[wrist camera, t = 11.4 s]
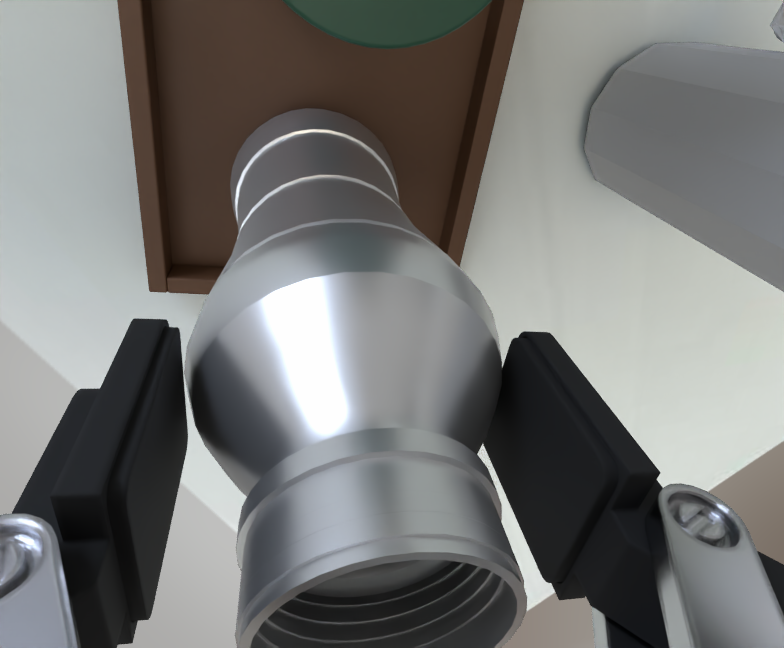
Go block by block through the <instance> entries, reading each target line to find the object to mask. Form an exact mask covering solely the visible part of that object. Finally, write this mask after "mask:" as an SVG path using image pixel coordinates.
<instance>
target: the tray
mask: <svg viewBox="0 0 784 648" xmlns="http://www.w3.org/2000/svg"><path fill="white" fill-rule="evenodd" d="M117 1H118V10H119V19H120V28H121V37H122V47H123V56H124V65H125V74H126V83H127V92H128V101H129V110H130V120H131V129H132V138H133V147H134V156H135V165H136V174H137V183H138V193H139V202H140V211H141V220H142V229H143V238H144V247H145V257H146V266H147V275H148V284H149V291H150V292H167V291H168V292H169V293H189V294H209V293H210V291H211V289H212V288H213V286H214V284H215V283H216V281H217V279H218V278H219V276H220V274H221V272H222V271H223V269H224V267H225V266H226V264H227V262H228V260H229V259H230V257H231V255H232V252H233V249H234V246H235V243H236V241H237V236H238V224H237V221H236V218H235V214H234V211H233V206H232V199H231V188H230V181H231V173H232V167H233V164H234V162H235V159H236V156H237V153H238V152H239V150H240V148H241V147H242V145H243V144H244V142H245V141H246V139H247V138H248V137H249V136H250V135H251V134H252V133H253V132H254V131H255V130H256V129H257V128H258V127H259V126H261V125H262V124H264V123H266V122H267V121H269V120H270V119H272V118H273V117H276V116H278V115H281V114H283V113H286V112H289V111H292V110H298V109H305V108H311V109H325V110H329V111H333V112H337V113H341V114H343V115H346V116H348V117H350V118H352V119H354V120H356V121H358V122H359V123H361V124H362V125H363V126H365V127H366V128H367V129H369V130H370V131H371V132H372V133H373V134H374V135H375V136H376V137H377V138H378V139H379V141H380V142H381V143H382V144H383V146H384V148H385V149H386V151H387V153H388V154H389V156H390V158H391V161H392V164H393V167H394V170H395V174H396V179H397V184H398V193H399V204H400V207H401V209H402V211H403V212H404V213H405V214H406V216H407V217H408V218H409V220H410V221H411V222H412V224H413V225H414V226H415V227H416V228H417V229H418V230H419V231H420V232H421V233H423V234H424V235H425V236H426V237H427V238H428V239H429V240H431V241H432V242H433V243H434V244H435V245H436V246H438V247H439V248H440V249H441V250H442V251H443V252H444V253H446V254H447V255H448V256H449V257H450V258H451V259H452V260H453V261H454V262H455V263H456V264H457V265H458V266H459V267H460V262H461V258H462V254H463V250H464V246H465V242H466V238H467V233H468V229H469V225H470V221H471V217H472V213H473V209H474V205H475V200H476V196H477V192H478V188H479V184H480V180H481V176H482V171H483V167H484V163H485V159H486V155H487V151H488V147H489V143H490V138H491V134H492V130H493V126H494V122H495V118H496V114H497V109H498V105H499V101H500V97H501V93H502V89H503V85H504V81H505V76H506V72H507V68H508V64H509V60H510V56H511V52H512V47H513V43H514V39H515V35H516V31H517V27H518V23H519V19H520V14H521V10H522V6H523V2H524V0H492V1H491V2H490V3H489V4H488V5H487V6H486V7H485V8H484V9H483V10H482V11H481V12H480V13H479V14H477V15H476V16H475V17H474V18H472V19H471V20H470V21H468V22H467V23H466V24H464V25H463V26H461V27H460V28H458V29H457V30H455V31H453V32H451V33H449V34H447V35H446V36H444V37H442V38H439V39H436V40H434V41H431V42H428V43H426V44H422V45H417V46H413V47H408V48H398V49H379V48H368V47H364V46H359V45H355V44H351V43H348V42H345V41H343V40H340V39H338V38H335V37H333V36H330V35H328V34H327V33H325V32H323V31H321V30H319V29H318V28H316V27H314V26H312V25H311V24H310V23H308V22H307V21H306V20H304V19H303V18H302V17H300V16H299V15H298V14H296V13H295V12H294V11H293V10H292V9H291V8H289V7H288V6H287V5H286V4H285V3H284V2H283V1H282V0H117Z"/></svg>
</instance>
